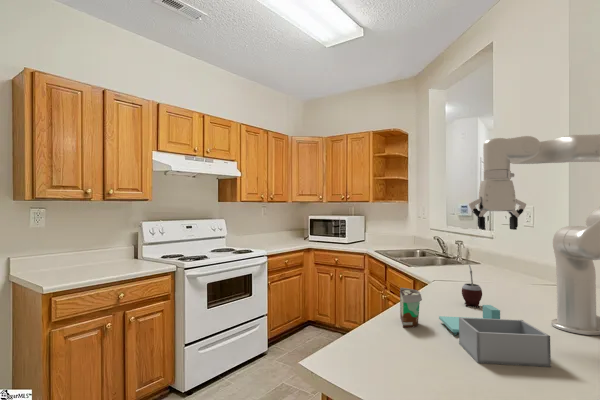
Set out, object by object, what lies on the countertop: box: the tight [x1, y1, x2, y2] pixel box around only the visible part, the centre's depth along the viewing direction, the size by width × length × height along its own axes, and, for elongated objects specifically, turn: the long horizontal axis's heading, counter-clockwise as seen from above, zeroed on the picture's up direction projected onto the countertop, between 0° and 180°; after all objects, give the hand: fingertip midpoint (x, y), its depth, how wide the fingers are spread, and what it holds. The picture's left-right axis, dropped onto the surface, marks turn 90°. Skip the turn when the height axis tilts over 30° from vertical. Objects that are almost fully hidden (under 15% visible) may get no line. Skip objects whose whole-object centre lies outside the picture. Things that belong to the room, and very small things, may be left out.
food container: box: [399, 287, 423, 329], centre depth 109 cm, size 12×6×10 cm, turn 168°
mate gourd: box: [461, 264, 483, 309], centre depth 132 cm, size 8×8×15 cm
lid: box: [438, 304, 501, 335], centre depth 103 cm, size 17×13×7 cm
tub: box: [458, 316, 552, 368], centre depth 86 cm, size 16×12×7 cm
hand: (497, 229), depth 111 cm, fingers open, 9 cm apart
